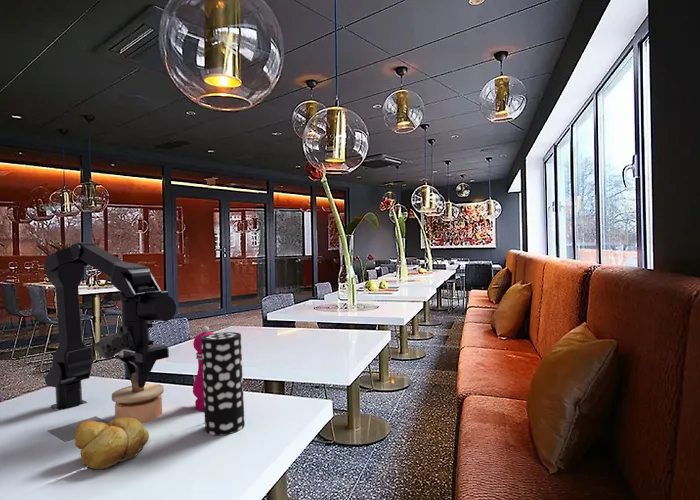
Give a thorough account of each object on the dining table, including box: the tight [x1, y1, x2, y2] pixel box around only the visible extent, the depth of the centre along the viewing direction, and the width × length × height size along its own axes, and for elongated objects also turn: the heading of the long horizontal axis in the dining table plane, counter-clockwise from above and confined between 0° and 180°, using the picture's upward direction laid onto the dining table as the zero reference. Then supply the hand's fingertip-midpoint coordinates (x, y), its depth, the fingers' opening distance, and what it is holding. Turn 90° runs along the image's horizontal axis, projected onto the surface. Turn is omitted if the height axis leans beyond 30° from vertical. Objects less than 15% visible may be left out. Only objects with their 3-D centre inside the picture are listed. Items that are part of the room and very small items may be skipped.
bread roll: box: [74, 417, 150, 470], centre depth 86 cm, size 13×10×8 cm
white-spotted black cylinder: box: [201, 331, 246, 436], centre depth 98 cm, size 8×8×20 cm
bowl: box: [114, 394, 163, 424], centre depth 105 cm, size 10×10×4 cm
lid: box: [111, 373, 165, 403], centre depth 105 cm, size 11×11×5 cm
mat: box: [47, 415, 110, 443], centre depth 99 cm, size 10×10×1 cm
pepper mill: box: [192, 325, 215, 411], centre depth 112 cm, size 7×7×20 cm
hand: (138, 386), depth 105 cm, fingers open, 3 cm apart
